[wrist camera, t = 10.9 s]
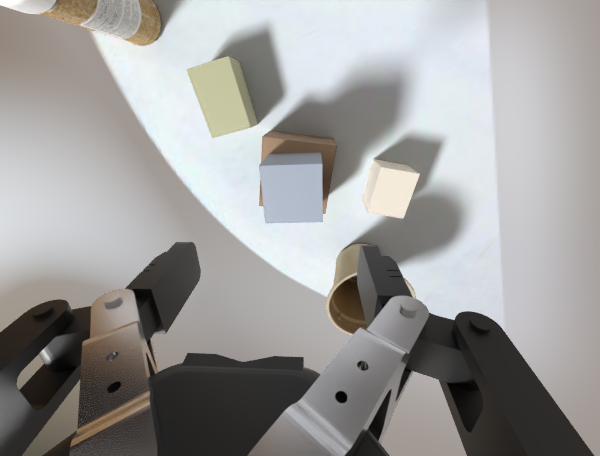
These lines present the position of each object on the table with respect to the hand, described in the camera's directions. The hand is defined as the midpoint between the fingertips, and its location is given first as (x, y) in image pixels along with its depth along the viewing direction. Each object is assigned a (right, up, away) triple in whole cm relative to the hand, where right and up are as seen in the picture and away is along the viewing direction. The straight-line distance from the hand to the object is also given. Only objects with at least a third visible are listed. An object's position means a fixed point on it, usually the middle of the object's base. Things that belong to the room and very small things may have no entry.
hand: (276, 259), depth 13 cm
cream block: (+11, +7, +18) cm, 22 cm away
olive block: (-6, +15, +15) cm, 22 cm away
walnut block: (+1, +9, +18) cm, 20 cm away
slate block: (+1, +6, +14) cm, 15 cm away
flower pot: (+9, -3, +23) cm, 25 cm away
